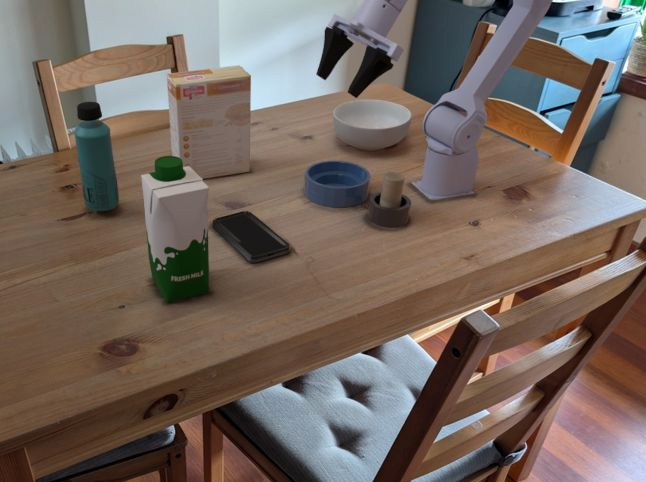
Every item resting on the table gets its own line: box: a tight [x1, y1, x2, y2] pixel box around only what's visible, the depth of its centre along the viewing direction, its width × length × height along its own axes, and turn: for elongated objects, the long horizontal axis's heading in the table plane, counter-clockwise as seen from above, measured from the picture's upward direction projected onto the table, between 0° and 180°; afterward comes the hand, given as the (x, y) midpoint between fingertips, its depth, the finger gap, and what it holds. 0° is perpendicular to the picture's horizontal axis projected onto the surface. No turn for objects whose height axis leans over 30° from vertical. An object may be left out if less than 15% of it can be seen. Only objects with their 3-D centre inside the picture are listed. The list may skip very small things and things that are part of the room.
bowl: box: [303, 160, 372, 208], centre depth 131 cm, size 12×12×4 cm
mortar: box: [367, 191, 412, 229], centre depth 124 cm, size 7×7×4 cm
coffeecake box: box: [166, 64, 252, 180], centre depth 136 cm, size 15×7×20 cm, turn 108°
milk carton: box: [140, 155, 210, 304], centre depth 102 cm, size 9×9×20 cm
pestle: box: [380, 171, 406, 208], centre depth 122 cm, size 4×4×8 cm
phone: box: [212, 210, 290, 264], centre depth 120 cm, size 8×1×15 cm
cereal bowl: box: [332, 99, 412, 152], centre depth 150 cm, size 17×17×7 cm
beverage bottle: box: [73, 101, 120, 212], centre depth 122 cm, size 6×7×20 cm
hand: (336, 86), depth 110 cm, fingers open, 7 cm apart
